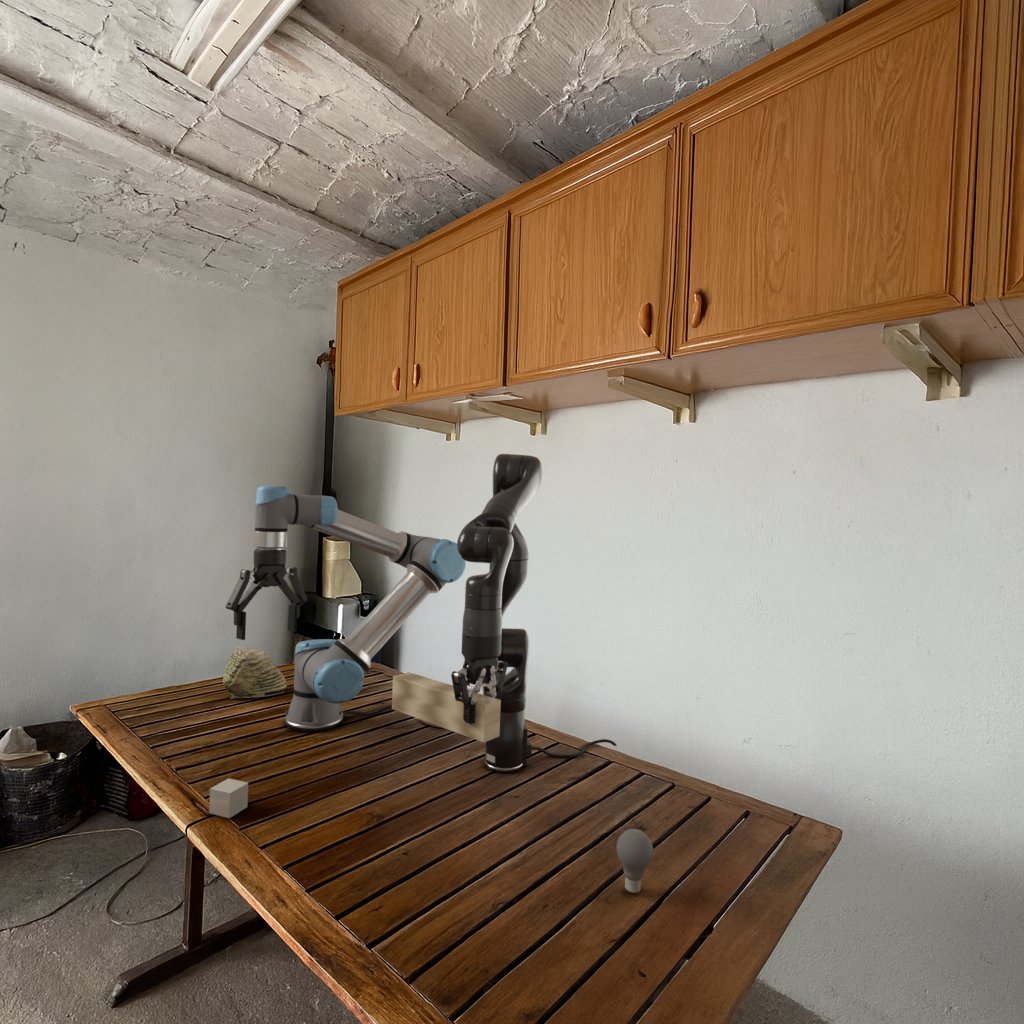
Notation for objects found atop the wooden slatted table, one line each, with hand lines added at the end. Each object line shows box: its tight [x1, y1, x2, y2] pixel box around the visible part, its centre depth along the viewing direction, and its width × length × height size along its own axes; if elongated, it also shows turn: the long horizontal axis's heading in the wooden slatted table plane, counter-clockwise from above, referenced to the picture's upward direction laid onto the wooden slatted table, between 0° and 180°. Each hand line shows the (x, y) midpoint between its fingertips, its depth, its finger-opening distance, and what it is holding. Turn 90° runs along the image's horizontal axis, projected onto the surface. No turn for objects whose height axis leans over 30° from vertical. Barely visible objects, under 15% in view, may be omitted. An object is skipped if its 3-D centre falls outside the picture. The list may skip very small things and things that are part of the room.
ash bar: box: [391, 671, 501, 743], centre depth 127 cm, size 26×4×7 cm, turn 51°
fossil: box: [222, 646, 288, 699], centre depth 198 cm, size 9×18×15 cm, turn 132°
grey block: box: [208, 778, 249, 819], centre depth 126 cm, size 5×5×5 cm
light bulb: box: [615, 828, 654, 894], centre depth 106 cm, size 6×6×10 cm
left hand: (267, 635), depth 155 cm, fingers open, 13 cm apart
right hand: (478, 719), depth 121 cm, fingers closed on ash bar, 4 cm apart
